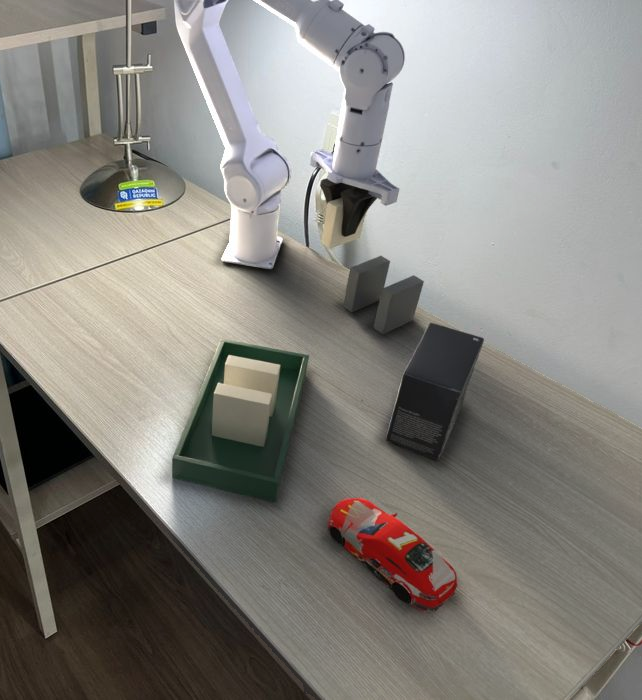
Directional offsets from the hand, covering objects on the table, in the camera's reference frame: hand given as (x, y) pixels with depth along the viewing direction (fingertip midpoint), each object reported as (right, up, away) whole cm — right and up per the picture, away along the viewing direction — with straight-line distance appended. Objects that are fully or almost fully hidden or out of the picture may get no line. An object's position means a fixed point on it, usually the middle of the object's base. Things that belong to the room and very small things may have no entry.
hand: (342, 230), depth 98 cm
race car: (-3, -37, -31) cm, 48 cm away
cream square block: (0, -1, +1) cm, 2 cm away
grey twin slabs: (+5, -12, 0) cm, 13 cm away
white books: (-15, -25, -17) cm, 34 cm away
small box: (+5, -26, -17) cm, 31 cm away
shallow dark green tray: (-15, -25, -17) cm, 34 cm away
